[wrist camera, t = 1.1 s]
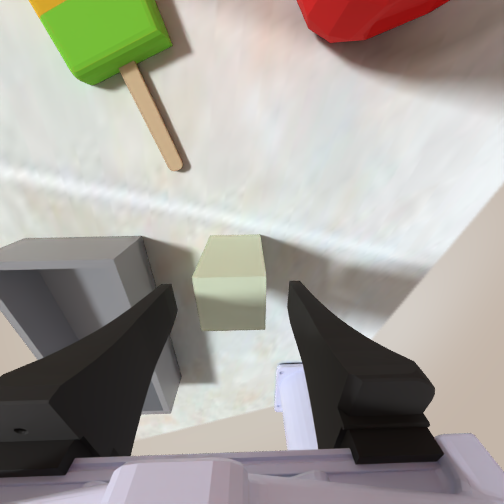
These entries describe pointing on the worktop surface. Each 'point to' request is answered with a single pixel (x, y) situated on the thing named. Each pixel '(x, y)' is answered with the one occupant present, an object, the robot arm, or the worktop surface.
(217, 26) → the worktop surface
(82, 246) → the bin
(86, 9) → the popsicle
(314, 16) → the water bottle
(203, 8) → the worktop surface
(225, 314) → the sage block
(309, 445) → the robot arm
